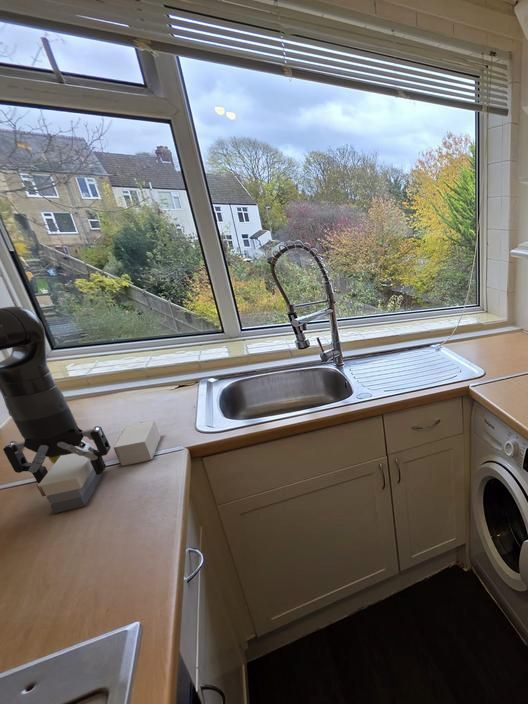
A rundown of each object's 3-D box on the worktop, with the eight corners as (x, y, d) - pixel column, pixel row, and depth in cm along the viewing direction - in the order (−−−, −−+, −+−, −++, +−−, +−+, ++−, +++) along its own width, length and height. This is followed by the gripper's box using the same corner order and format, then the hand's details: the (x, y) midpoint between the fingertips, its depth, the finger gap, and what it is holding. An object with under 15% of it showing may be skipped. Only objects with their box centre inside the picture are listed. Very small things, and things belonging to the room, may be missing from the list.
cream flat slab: (42, 497, 80) (36, 486, 79) (65, 465, 89) (60, 455, 88) (81, 488, 83) (76, 477, 82) (99, 458, 92) (94, 449, 91)
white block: (121, 466, 96) (113, 447, 94) (133, 442, 106) (126, 425, 104) (151, 459, 99) (144, 441, 97) (160, 437, 108) (154, 420, 106)
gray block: (54, 513, 81) (45, 497, 80) (76, 478, 92) (69, 463, 90) (85, 506, 84) (77, 490, 82) (103, 472, 94) (96, 458, 92)
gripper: (95, 395, 86) (123, 460, 93) (-3, 410, 79) (35, 478, 86) (83, 410, 80) (114, 477, 87) (-24, 427, 73) (19, 499, 80)
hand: (74, 478), depth 86 cm, fingers open, 7 cm apart
